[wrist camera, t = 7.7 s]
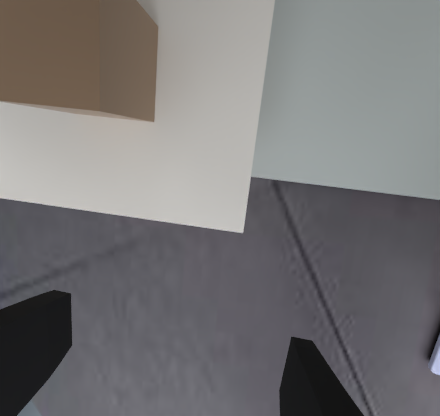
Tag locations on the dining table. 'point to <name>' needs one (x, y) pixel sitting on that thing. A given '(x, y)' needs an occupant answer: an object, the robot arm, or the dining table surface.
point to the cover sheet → (168, 151)
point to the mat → (353, 96)
